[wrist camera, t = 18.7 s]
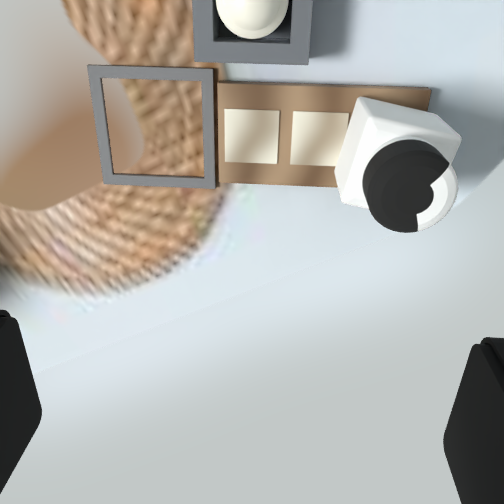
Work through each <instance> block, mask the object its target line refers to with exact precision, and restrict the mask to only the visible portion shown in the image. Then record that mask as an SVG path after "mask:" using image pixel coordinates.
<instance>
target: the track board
mask: <svg viewBox="0 0 504 504" xmlns="http://www.w3.org/2000/svg"><path fill="white" fill-rule="evenodd" d="M217 86H218V151H219V182H222V183H246V184H269V185H292V186H316V187H338V185H337V181H336V177H335V173H334V170H335V167H336V164H337V161H338V158H339V154H340V151H341V148H342V145H343V142H344V138H345V135H346V132H347V129H348V126H349V123H350V119H351V116H352V113H353V110H354V107H355V103H356V100H357V98H359V97H366V98H370V99H375V100H379V101H383V102H387V103H392V104H396V105H400V106H404V107H409V108H413V109H417V110H421V111H426V112H427V110H428V105H429V100H430V94H431V90H430V89H429V88H428V87H398V86H367V85H336V84H306V83H275V82H244V81H219V82H218V83H217Z"/></svg>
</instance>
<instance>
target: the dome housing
mask: <svg viewBox="0 0 504 504" xmlns="http://www.w3.org/2000/svg"><path fill="white" fill-rule="evenodd" d="M192 6H193V33H194V60H195V62H220V63H252V64H285V65H308V62H309V48H310V35H311V21H312V7H313V0H292V13H291V32H290V39H267V38H257V39H248V38H231V37H219V29H218V10H217V5H216V0H192Z"/></svg>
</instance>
